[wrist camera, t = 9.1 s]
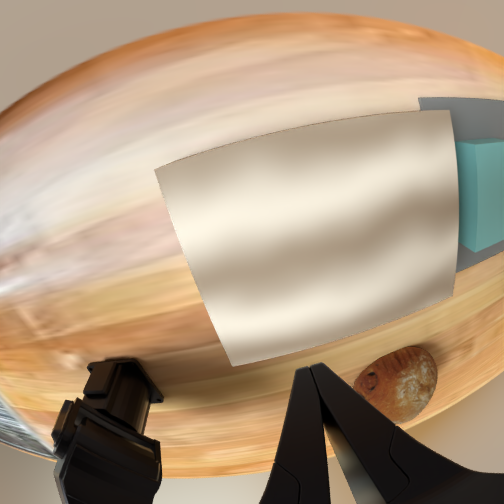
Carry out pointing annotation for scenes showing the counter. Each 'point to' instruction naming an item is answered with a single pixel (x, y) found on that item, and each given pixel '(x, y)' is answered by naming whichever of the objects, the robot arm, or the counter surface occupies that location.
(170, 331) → the counter surface
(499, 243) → the mat
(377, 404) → the brown rounded dome
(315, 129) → the board
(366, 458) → the robot arm
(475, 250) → the teal rectangular block
